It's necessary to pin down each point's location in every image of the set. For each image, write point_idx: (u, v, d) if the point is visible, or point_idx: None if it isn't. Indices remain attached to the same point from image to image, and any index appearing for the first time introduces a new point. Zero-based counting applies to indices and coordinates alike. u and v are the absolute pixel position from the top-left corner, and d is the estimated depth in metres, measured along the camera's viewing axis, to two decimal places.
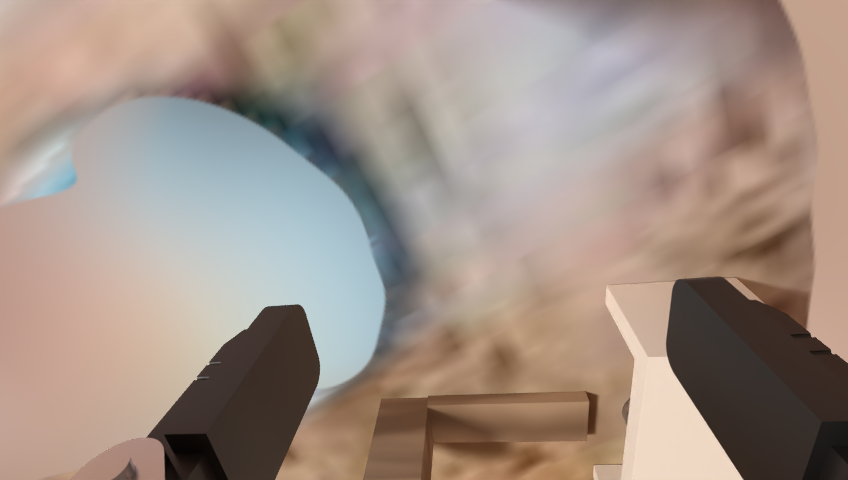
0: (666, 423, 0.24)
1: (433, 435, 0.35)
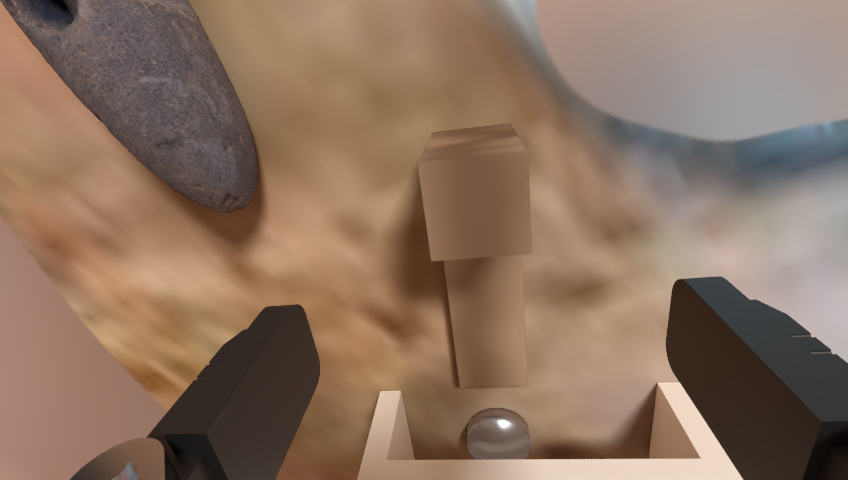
0: None
1: None
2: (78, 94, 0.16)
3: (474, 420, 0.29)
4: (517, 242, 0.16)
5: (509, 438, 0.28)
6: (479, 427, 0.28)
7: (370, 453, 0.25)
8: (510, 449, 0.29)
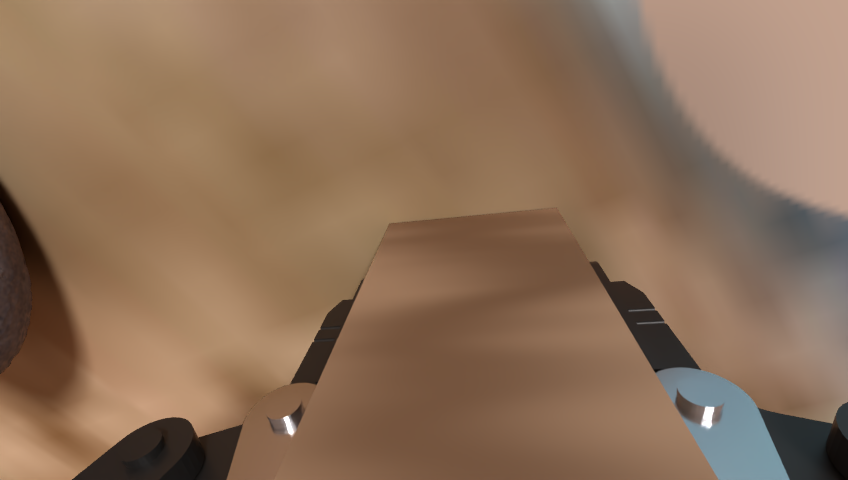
0: None
1: None
2: None
3: None
4: None
5: None
6: None
7: None
8: None
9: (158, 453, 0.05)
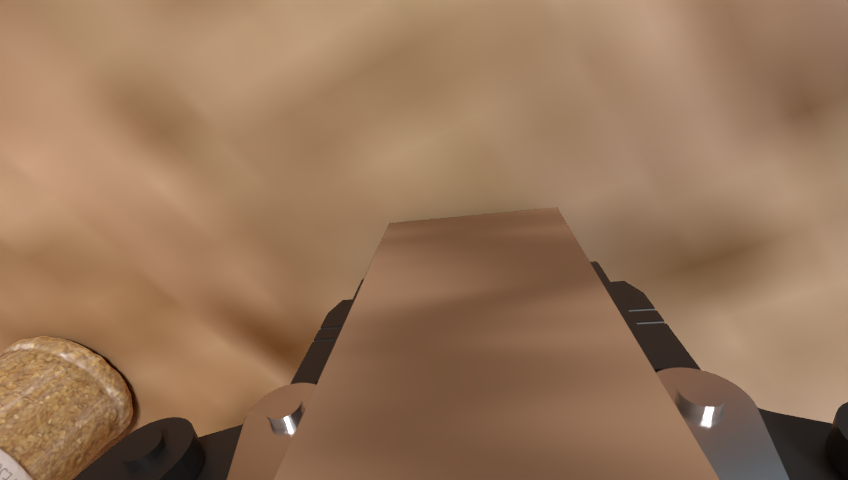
0: None
1: None
2: None
3: None
4: None
5: None
6: None
7: None
8: None
9: (158, 453, 0.05)
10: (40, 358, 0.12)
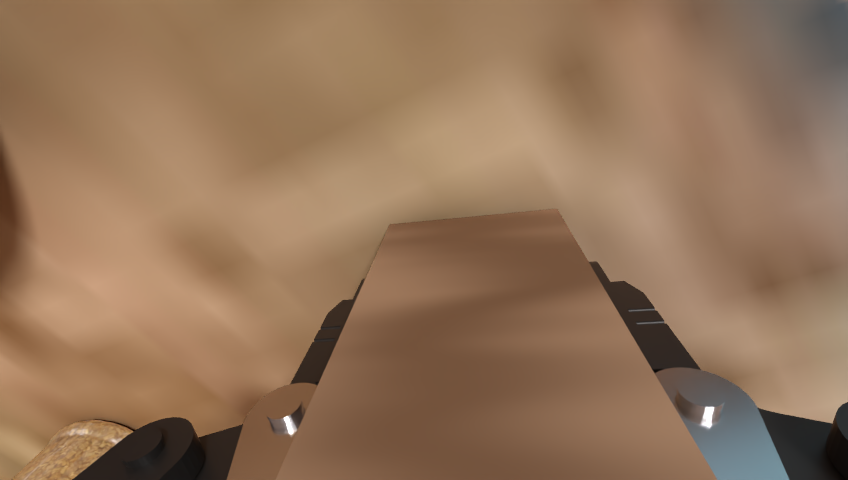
0: None
1: None
2: None
3: None
4: None
5: None
6: None
7: None
8: None
9: (158, 453, 0.05)
10: (95, 445, 0.14)
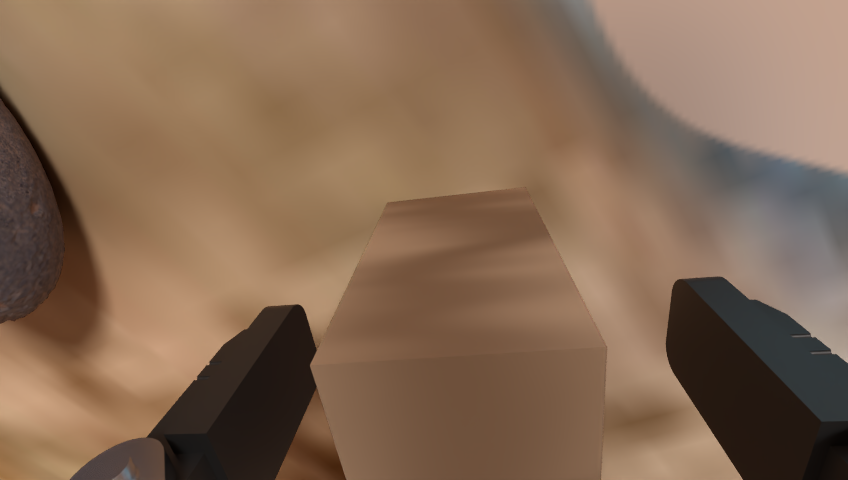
0: None
1: None
2: None
3: None
4: None
5: None
6: None
7: None
8: None
9: None
10: None
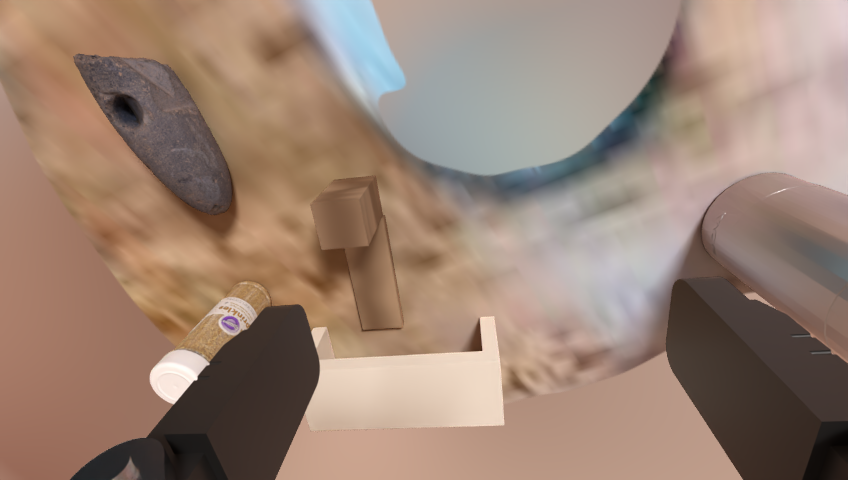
0: (446, 376, 0.39)
1: None
2: (140, 157, 0.33)
3: None
4: (360, 240, 0.33)
5: None
6: None
7: None
8: None
9: None
10: (250, 286, 0.43)
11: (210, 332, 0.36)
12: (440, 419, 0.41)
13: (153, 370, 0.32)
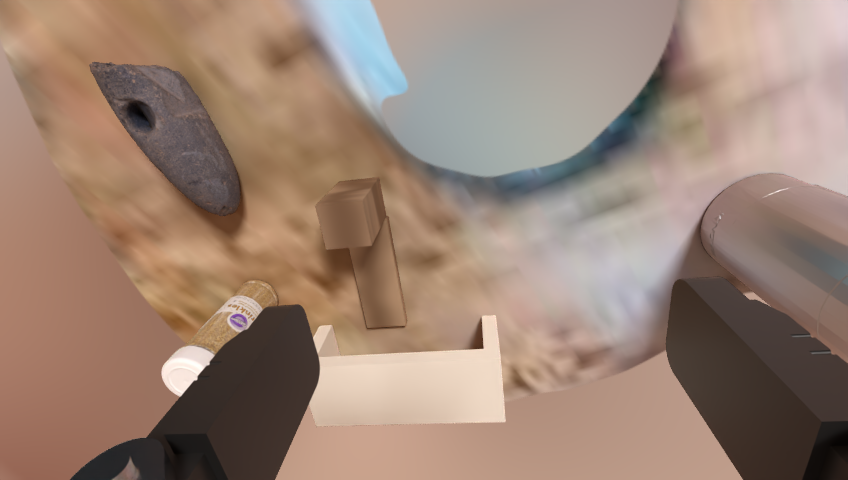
0: (448, 373, 0.39)
1: None
2: (152, 160, 0.34)
3: None
4: (364, 240, 0.34)
5: None
6: None
7: None
8: None
9: None
10: (257, 285, 0.44)
11: (219, 329, 0.37)
12: (442, 415, 0.42)
13: (165, 365, 0.34)
